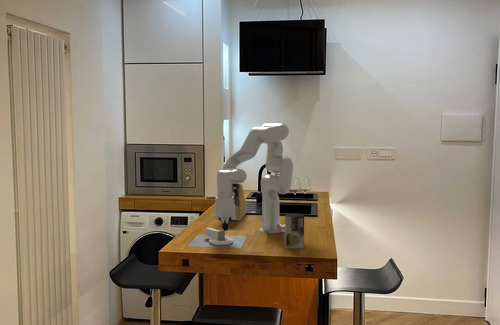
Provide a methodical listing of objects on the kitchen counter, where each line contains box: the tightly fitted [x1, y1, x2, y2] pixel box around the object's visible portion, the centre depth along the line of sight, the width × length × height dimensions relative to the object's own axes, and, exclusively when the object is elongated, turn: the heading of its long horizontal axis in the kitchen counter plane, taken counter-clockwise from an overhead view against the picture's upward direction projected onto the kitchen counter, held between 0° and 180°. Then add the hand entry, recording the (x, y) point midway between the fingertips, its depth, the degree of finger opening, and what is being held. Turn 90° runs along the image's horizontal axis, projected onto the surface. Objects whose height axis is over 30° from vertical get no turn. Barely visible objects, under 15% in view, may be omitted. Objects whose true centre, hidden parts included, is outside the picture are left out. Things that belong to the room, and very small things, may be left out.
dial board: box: [187, 234, 248, 249], centre depth 255 cm, size 26×24×2 cm
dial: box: [204, 227, 233, 245], centre depth 254 cm, size 18×12×5 cm, turn 40°
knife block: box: [224, 183, 248, 222], centre depth 316 cm, size 11×35×31 cm, turn 171°
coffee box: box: [284, 213, 305, 249], centre depth 250 cm, size 9×6×16 cm
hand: (225, 230), depth 258 cm, fingers closed
